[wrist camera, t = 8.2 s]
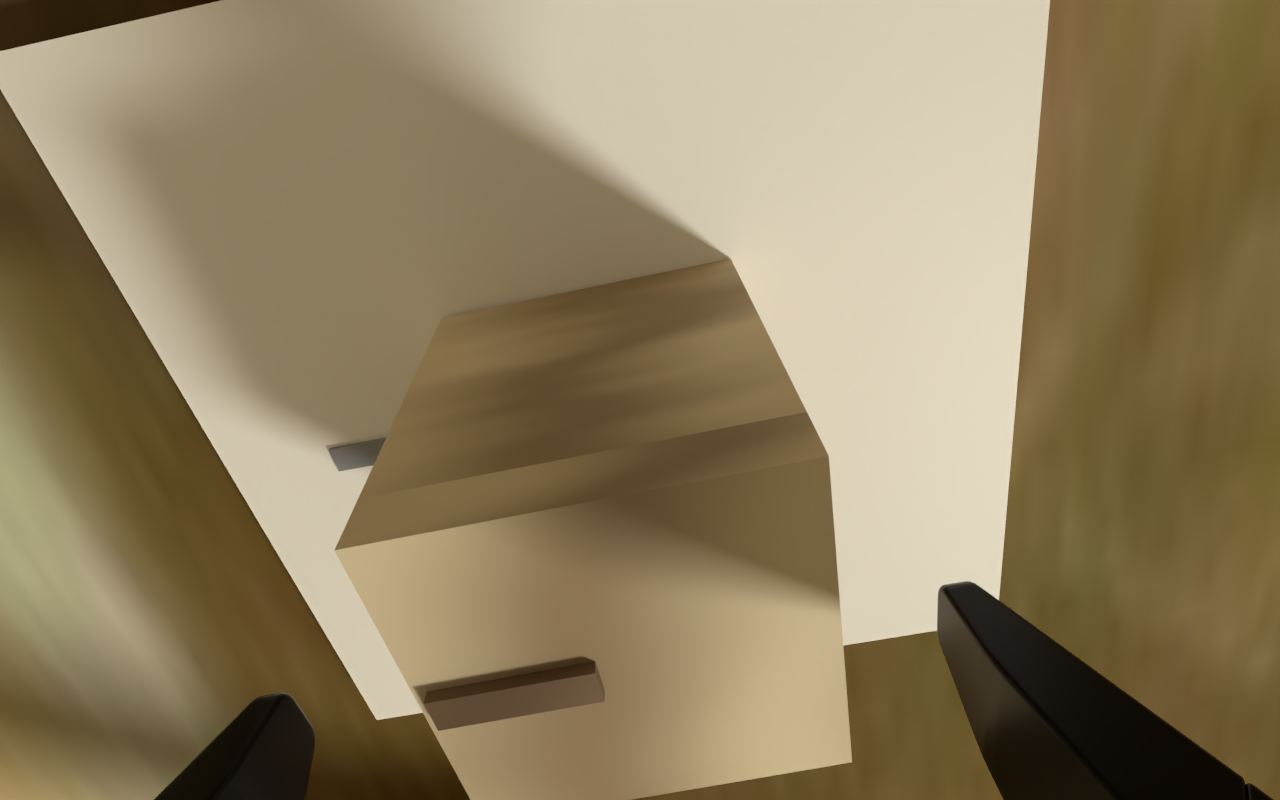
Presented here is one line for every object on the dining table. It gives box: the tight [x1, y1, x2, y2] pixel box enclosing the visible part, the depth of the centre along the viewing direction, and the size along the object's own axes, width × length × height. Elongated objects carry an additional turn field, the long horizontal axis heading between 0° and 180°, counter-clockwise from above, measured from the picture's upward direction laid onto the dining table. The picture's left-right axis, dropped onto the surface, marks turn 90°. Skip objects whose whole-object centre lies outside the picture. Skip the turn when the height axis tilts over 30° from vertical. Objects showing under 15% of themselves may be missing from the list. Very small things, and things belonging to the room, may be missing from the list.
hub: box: [0, 0, 1050, 720], centre depth 15 cm, size 18×18×6 cm
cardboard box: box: [334, 258, 852, 800], centre depth 13 cm, size 6×6×7 cm
